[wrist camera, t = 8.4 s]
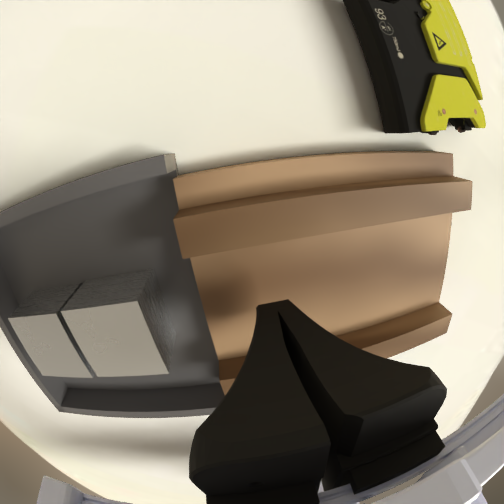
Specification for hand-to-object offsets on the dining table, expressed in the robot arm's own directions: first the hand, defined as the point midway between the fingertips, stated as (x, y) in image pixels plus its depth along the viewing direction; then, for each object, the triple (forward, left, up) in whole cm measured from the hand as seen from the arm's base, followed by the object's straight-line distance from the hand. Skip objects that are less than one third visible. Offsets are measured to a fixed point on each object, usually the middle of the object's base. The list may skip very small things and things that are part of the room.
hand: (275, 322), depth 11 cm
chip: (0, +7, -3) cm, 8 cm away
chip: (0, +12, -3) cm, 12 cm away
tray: (0, +10, -3) cm, 10 cm away
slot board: (0, -4, -3) cm, 5 cm away
